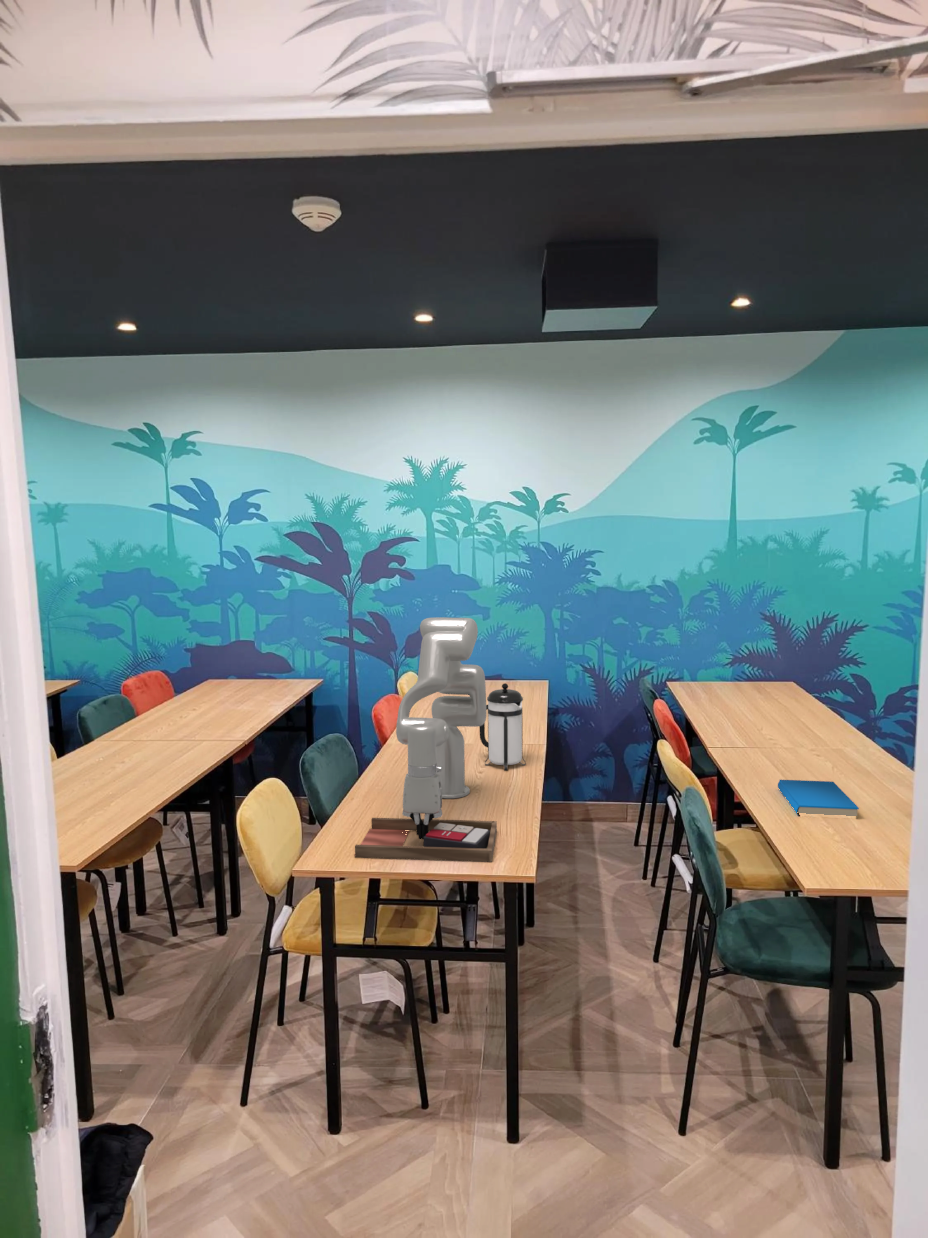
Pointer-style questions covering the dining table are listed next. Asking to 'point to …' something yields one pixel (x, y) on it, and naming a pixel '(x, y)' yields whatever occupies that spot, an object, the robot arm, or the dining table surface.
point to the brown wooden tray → (390, 840)
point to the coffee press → (504, 727)
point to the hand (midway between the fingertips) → (422, 837)
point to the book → (817, 797)
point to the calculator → (456, 836)
